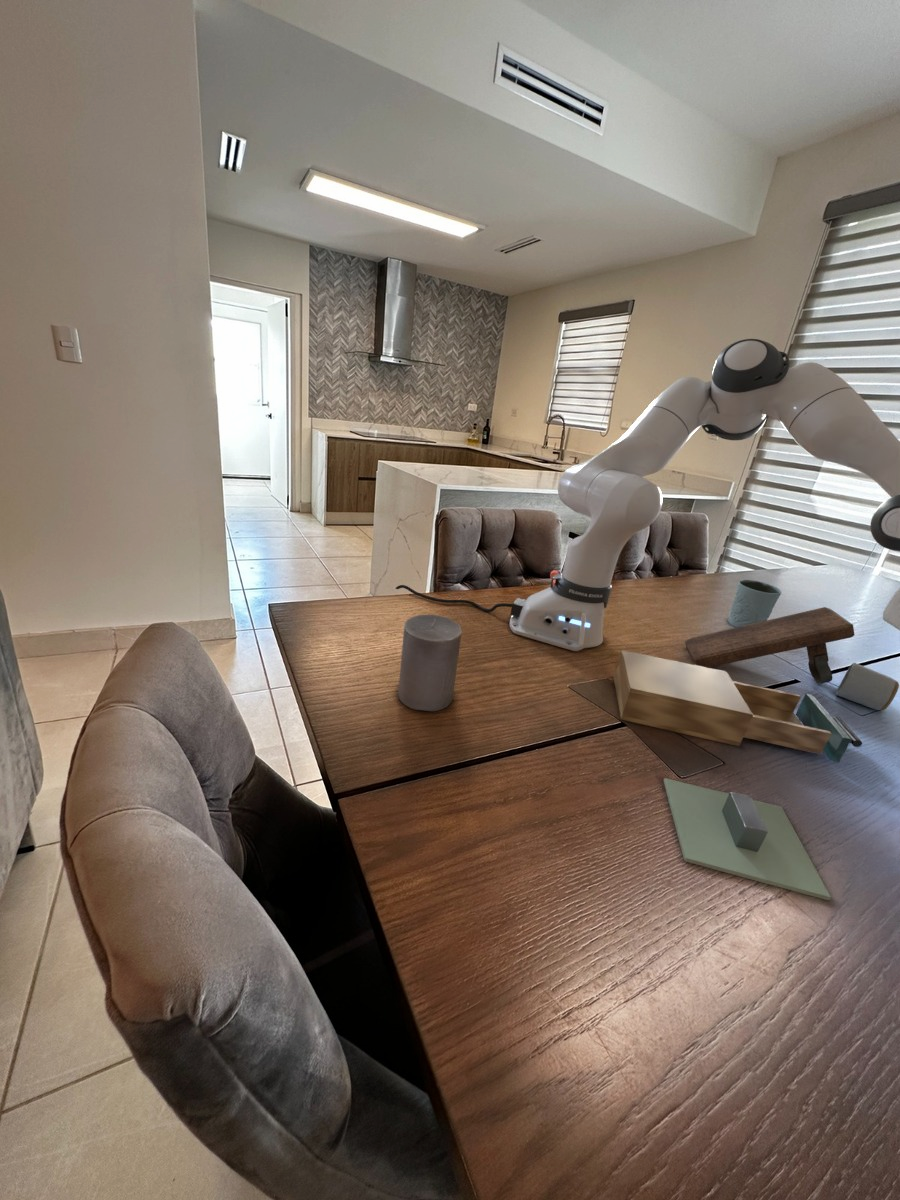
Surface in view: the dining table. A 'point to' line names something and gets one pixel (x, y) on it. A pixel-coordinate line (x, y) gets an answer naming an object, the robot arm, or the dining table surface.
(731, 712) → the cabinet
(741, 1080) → the dining table surface
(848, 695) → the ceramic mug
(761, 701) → the drawer
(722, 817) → the mat
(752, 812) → the slate gray brick
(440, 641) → the pillar candle
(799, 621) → the small wooden bench
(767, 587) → the teal plant pot
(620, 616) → the dining table surface
